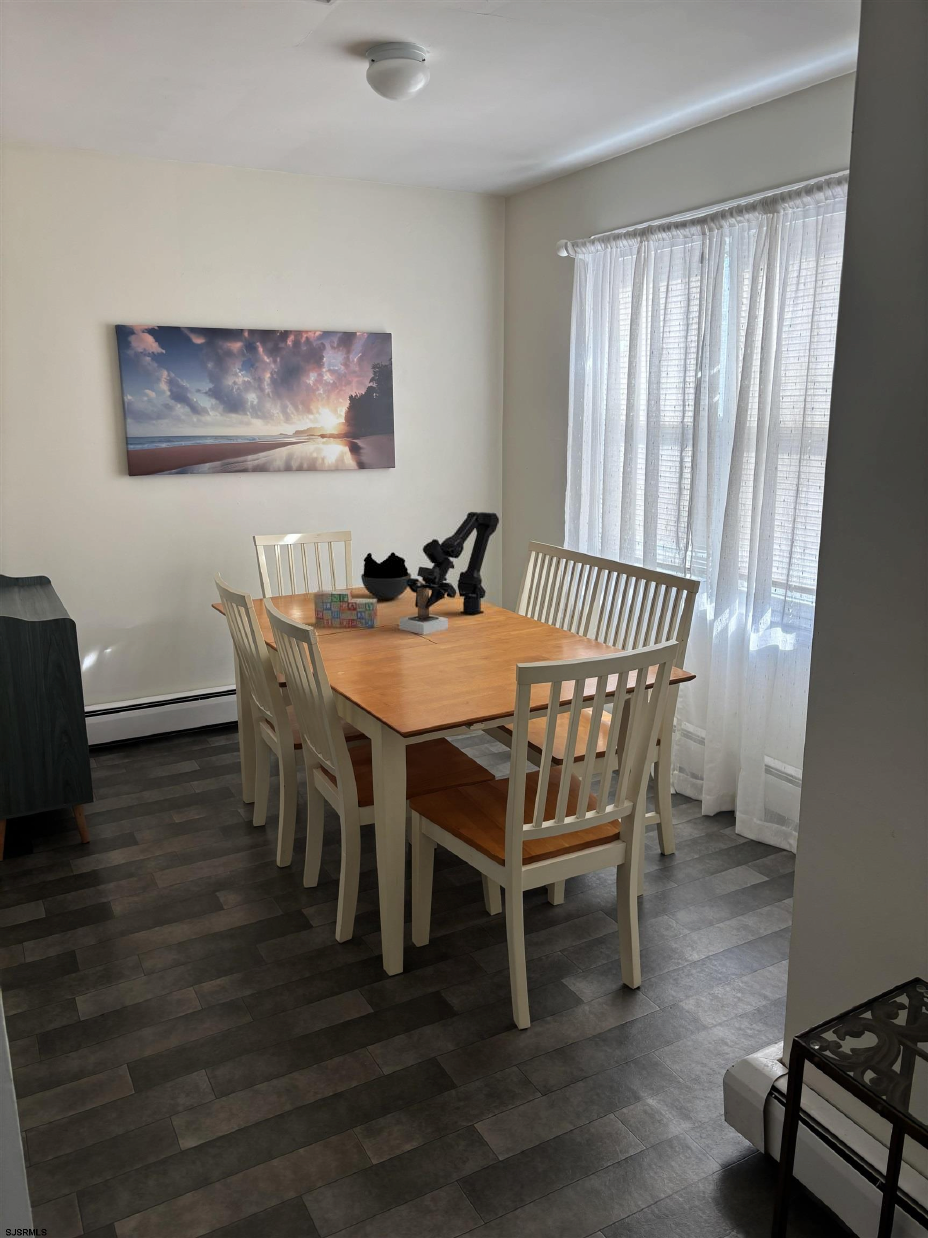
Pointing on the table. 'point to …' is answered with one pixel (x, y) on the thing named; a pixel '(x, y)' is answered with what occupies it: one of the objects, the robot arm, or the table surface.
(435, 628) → the socket block
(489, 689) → the table surface
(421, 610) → the walnut peg
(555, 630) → the table surface
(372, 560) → the coal bowl
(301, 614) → the table surface
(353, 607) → the stack of blocks
